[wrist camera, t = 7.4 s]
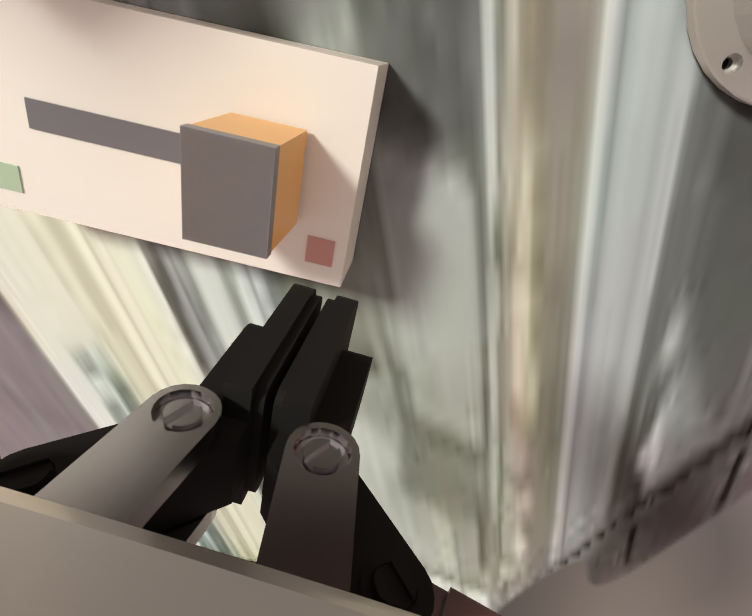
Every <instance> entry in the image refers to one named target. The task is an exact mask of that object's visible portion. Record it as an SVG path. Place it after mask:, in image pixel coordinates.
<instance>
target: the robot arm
mask: <svg viewBox="0 0 752 616" xmlns="http://www.w3.org/2000/svg"><path fill="white" fill-rule="evenodd" d="M686 21H687V30H688V34H689V38H690V42H691V46H692V50H693V53H694V54H695V56H696V58H697V60H698V62H699V64H700V66H701V68H702V70H703V72H704V73H705V74H706V75H707V76H708V77H709V78H710V80H711V81H712V82H713V83H714V84H715V85H716V86H717V87H718V88H719V89H720V90H721V91H723V92H725V93H726V94H728V95H729V96H731V97H732V98H734V99H735V100H737V101H739V102H742V103H745V104H748V105H750V106H752V0H686ZM725 58H728V64H727V66H726V67H725V68H723V69H722V64H723V61H724V60H725ZM321 305H322V297H321V296H317V295H316V289H313V288H309V287H306V286H302V285H299V284H294V285H293V286H292V287H291V289H290V290H289V291H288V293H287V294H286V296H285V297H284V298H283V300H282V301H281V303H280V304H279V305H278V307H277V308H276V310H275V311H274V312H273V314H272V315H271V316H270V318H269V319H268V321H267V322H266V323H265V325H264V326H263V327H262V326H259V325H255V324H251V323H250V324H248V325H247V326H246V327H245V328H244V329H243V330H242V332H241V333H240V334H239V336H238V337H237V338H236V339H235V341H234V342H233V343H232V345H231V346H230V347H229V348H228V350H227V351H226V352H225V354H224V355H223V356H222V357H221V359H220V360H219V361H218V363H217V364H216V365H215V366H214V368H213V369H212V370H211V372H210V373H209V374H208V375H207V377H206V378H205V379H204V381H203V382H202V383H201V384H200V386H198V385H191V384H181V385H175V386H170V387H168V388H165V389H162V390H160V391H159V392H157V393H155V394H154V395H152V396H151V397H150V398H149V399H148V400H146V401H145V402H144V403H143V404H142V405H140V406H139V407H138V408H137V409H136V410H135V411H133V412H132V413H131V414H130V415H129V416H127V417H126V418H125V419H124V420H123V421H122V422H120V423H119V424H115V425H112V426H108V427H104V428H101V429H97V430H93V431H90V432H86V433H82V434H79V435H75V436H71V437H67V438H64V439H60V440H56V441H53V442H49V443H45V444H42V445H38V446H34V447H30V448H27V449H23V450H21V451H18V452H15V453H13V454H10V455H8V456H6V457H5V458H3V457H0V616H501V615H499V614H498V613H496V612H494V611H492V610H491V609H489V608H487V607H485V606H483V605H482V604H480V603H478V602H476V601H475V600H473V599H471V598H469V597H467V596H466V595H464V594H462V593H460V592H459V591H457V590H455V589H453V588H451V587H450V589H449V591H448V592H447V591H445V590H444V589H442V588H440V587H438V586H437V585H435V584H433V583H432V582H431V580H430V578H429V576H428V574H427V572H426V570H425V568H424V567H423V566H422V564H421V563H420V561H419V560H418V558H417V557H416V556H415V554H414V553H413V551H412V550H411V548H410V547H409V546H408V544H407V543H406V541H405V540H404V538H403V537H402V536H401V534H400V533H399V531H398V530H397V528H396V527H395V526H394V524H393V523H392V521H391V520H390V519H389V517H388V516H387V514H386V513H385V511H384V510H383V509H382V507H381V506H380V504H379V503H378V501H377V500H376V499H375V497H374V496H373V494H372V493H371V491H370V490H369V489H368V487H367V486H366V484H365V483H364V481H363V480H362V479H361V477H360V476H359V462H360V453H359V447H358V445H357V443H356V441H355V439H354V438H353V437H352V436H351V434H352V430H353V427H354V424H355V420H356V417H357V414H358V410H359V407H360V403H361V400H362V396H363V393H364V389H365V386H366V382H367V378H368V374H369V371H370V367H371V363H372V359H373V358H372V357H369V356H365V355H362V354H358V353H354V352H351V351H348V347H349V343H350V338H351V334H352V329H353V325H354V320H355V316H356V311H357V307H358V301H356V300H353V299H349V298H345V297H342V296H337V297H336V299H335V300H332V299H327V301H326V303H325V305H324V306H323V308H322V310H321ZM320 310H321V312H320ZM263 477H264V481H263V489H262V502H261V510H260V513H261V515H262V517H263V519H264V521H265V523H266V526H265V530H264V534H263V538H262V542H261V546H260V550H259V554H258V558H257V562H256V563H253V562H250V561H246V560H243V559H240V558H237V557H234V556H230V555H227V554H224V553H220V552H217V551H214V550H211V549H207V548H204V547H201V546H197V545H196V543H197V542H198V541H199V539H200V538H201V537H202V535H203V534H204V532H205V531H206V530H207V528H208V527H209V526H210V524H211V523H212V521H213V519H214V517H215V515H216V511H217V509H219V508H222V507H224V506H227V505H229V504H231V503H232V502H234V503H238V504H242V502H243V500H244V498H245V496H246V494H247V492H248V491H252V492H256V491H257V489H258V488H259V486H260V483H261V481H262V479H263Z"/></svg>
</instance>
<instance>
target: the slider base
mask: <svg viewBox="0 0 752 616" xmlns="http://www.w3.org/2000/svg"><path fill="white" fill-rule="evenodd" d="M388 65H389V63H386V62H382V61H377V60H373V59H368V58H364V57H360V56H355V55H351V54H346V53H342V52H337V51H333V50H329V49H324V48H320V47H315V46H311V45H307V44H302V43H298V42H293V41H289V40H284V39H280V38H276V37H271V36H267V35H262V34H258V33H254V32H249V31H245V30H240V29H236V28H231V27H227V26H223V25H218V24H214V23H209V22H205V21H200V20H196V19H192V18H187V17H183V16H178V15H174V14H170V13H165V12H161V11H156V10H152V9H147V8H143V7H139V6H134V5H130V4H125V3H121V2H117V1H112V0H0V205H2V206H7V207H11V208H15V209H19V210H23V211H27V212H31V213H35V214H40V215H44V216H48V217H52V218H56V219H60V220H64V221H68V222H73V223H77V224H81V225H85V226H89V227H93V228H97V229H101V230H106V231H110V232H114V233H118V234H122V235H126V236H130V237H134V238H139V239H143V240H147V241H151V242H155V243H159V244H163V245H167V246H172V247H176V248H180V249H184V250H188V251H192V252H196V253H200V254H205V255H209V256H213V257H217V258H221V259H225V260H229V261H233V262H238V263H242V264H246V265H250V266H254V267H258V268H262V269H266V270H271V271H275V272H279V273H283V274H287V275H291V276H295V277H299V278H304V279H308V280H312V281H316V282H320V283H324V284H328V285H332V286H337V287H340V286H341V284H342V282H343V280H344V278H345V276H346V274H347V272H348V270H349V267H350V265H351V263H352V261H353V256H354V251H355V245H356V240H357V234H358V229H359V223H360V218H361V213H362V207H363V202H364V196H365V191H366V185H367V180H368V174H369V169H370V163H371V158H372V153H373V147H374V142H375V136H376V131H377V125H378V120H379V114H380V109H381V103H382V98H383V93H384V87H385V82H386V76H387V71H388ZM230 112H232V113H236V114H241V115H245V116H249V117H254V118H258V119H262V120H267V121H271V122H275V123H279V124H284V125H288V126H292V127H297V128H301V129H305V130H307V138H306V147H305V156H304V165H303V174H302V183H301V192H300V201H299V210H298V219H297V224H296V225H295V226H294V227H293V228H292V229H291V230H290V231H289V233H288V234H287V235H286V236H285V237H284V238H283V239H282V240H281V241H280V243H279V244H278V245H277V246H276V247H275V248H274V249H273V250H272V252H271V255H270V256H269V257H268V258H267V259H263V258H259V257H255V256H251V255H247V254H243V253H239V252H234V251H230V250H226V249H222V248H218V247H214V246H210V245H206V244H201V243H197V242H193V241H189V240H185V239H182V207H181V161H180V125H183V124H193V123H196V122H200V121H203V120H206V119H210V118H213V117H216V116H220V115H223V114H227V113H230Z"/></svg>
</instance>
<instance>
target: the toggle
mask: <svg viewBox="0 0 752 616" xmlns="http://www.w3.org/2000/svg"><path fill="white" fill-rule="evenodd" d="M306 138H307V130H305V129H301V128H297V127H292V126H288V125H284V124H279V123H275V122H271V121H267V120H262V119H258V118H254V117H249V116H245V115H241V114H236V113H232V112H230V113H227V114H223V115H220V116H216V117H213V118H210V119H206V120H203V121H200V122H196V123H193V124H183V125H180V161H181V207H182V239H185V240H189V241H193V242H197V243H201V244H206V245H210V246H214V247H218V248H222V249H226V250H230V251H234V252H239V253H243V254H247V255H251V256H255V257H259V258H263V259H267V258H268V257H269V256H270V255H271V252H272V250H273V249H274V248H275V247H276V246H277V245H278V244H279V243H280V241H281V240H282V239H283V238H284V237H285V236H286V235H287V234H288V233H289V231H290V230H291V229H292V228H293V227H294V226H295V225H296V224H297V219H298V210H299V201H300V192H301V183H302V174H303V165H304V156H305V147H306Z"/></svg>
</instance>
